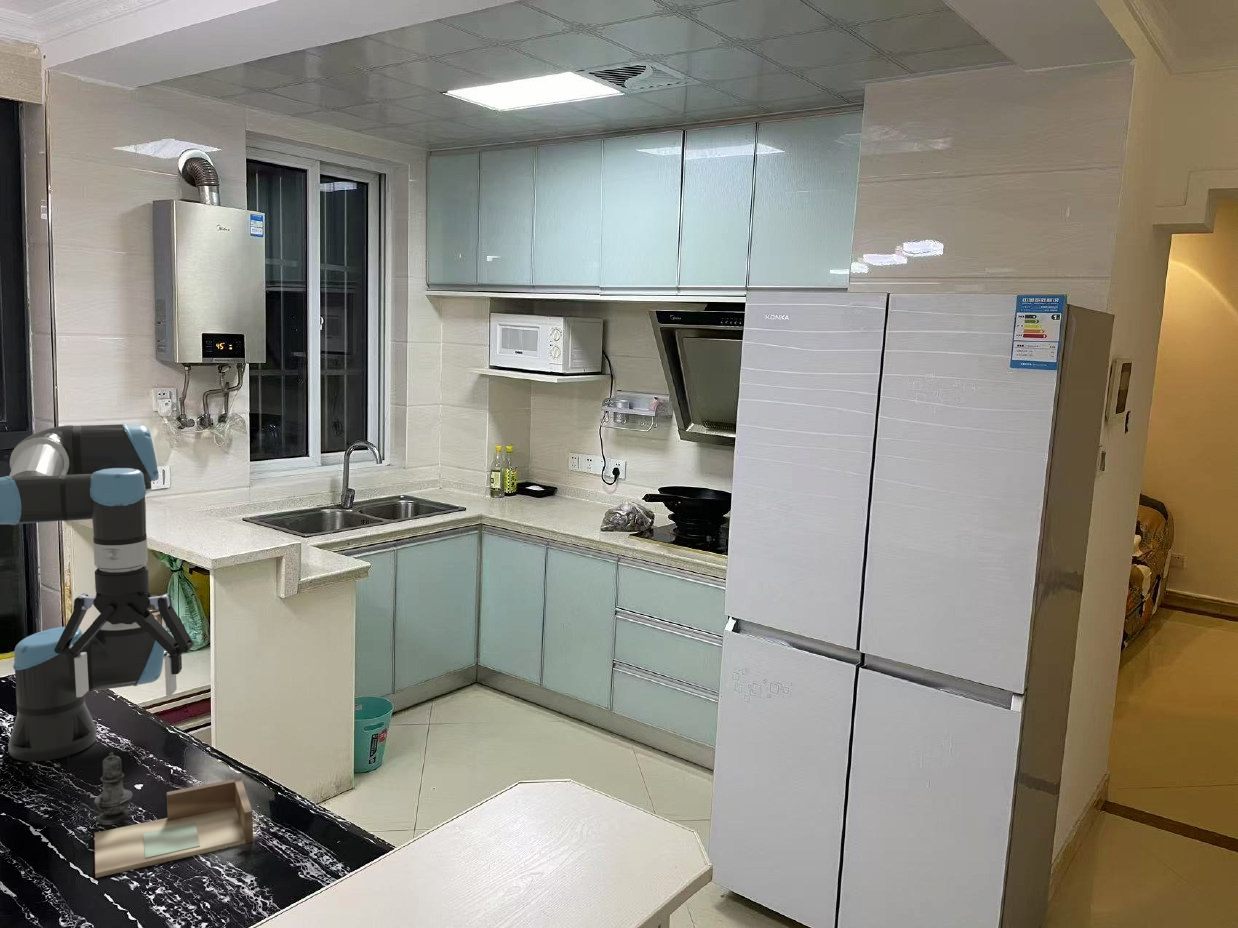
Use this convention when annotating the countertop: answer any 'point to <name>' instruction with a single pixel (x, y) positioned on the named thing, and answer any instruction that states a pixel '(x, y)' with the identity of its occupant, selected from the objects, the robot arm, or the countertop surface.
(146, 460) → the robot arm
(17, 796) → the countertop surface
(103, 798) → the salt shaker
